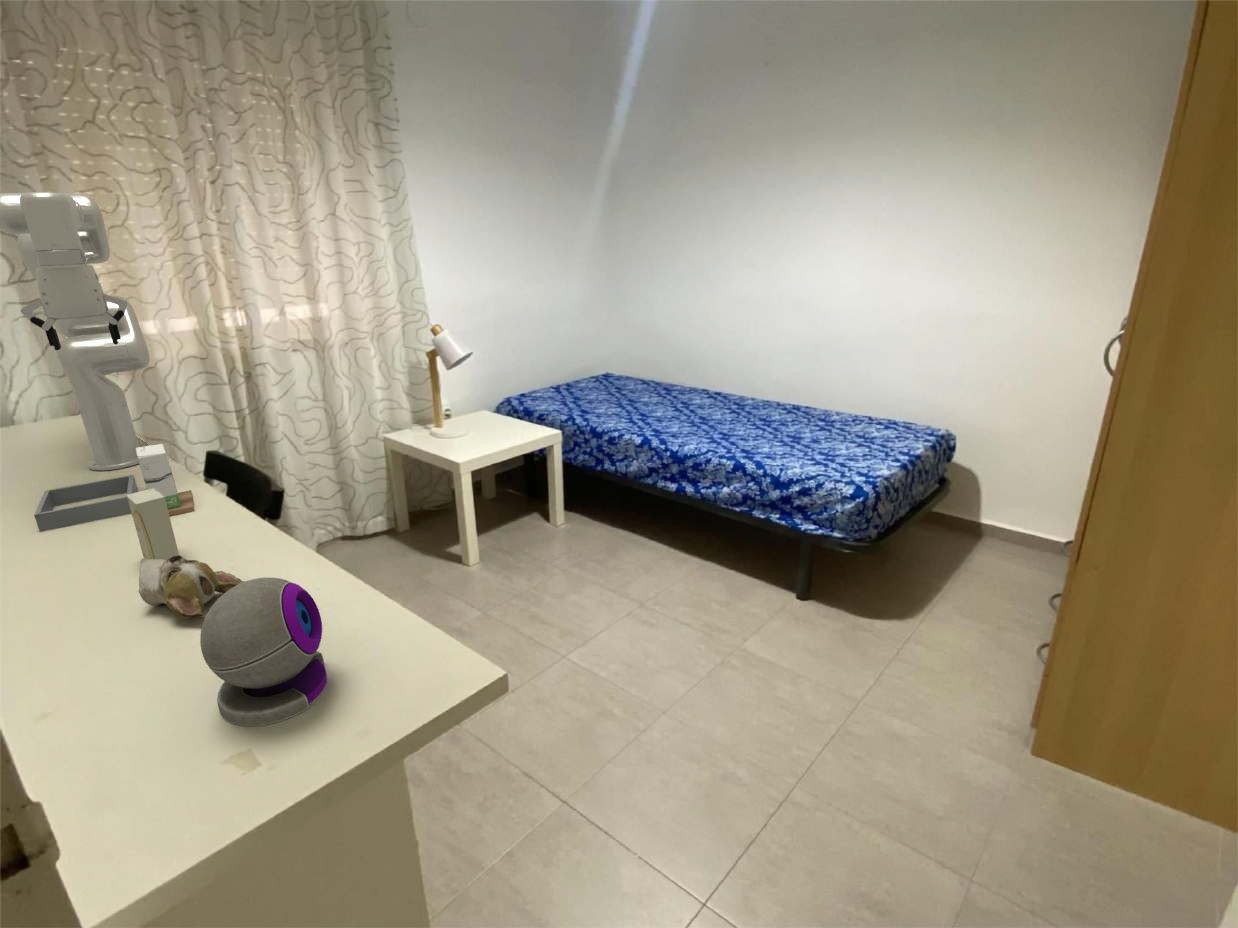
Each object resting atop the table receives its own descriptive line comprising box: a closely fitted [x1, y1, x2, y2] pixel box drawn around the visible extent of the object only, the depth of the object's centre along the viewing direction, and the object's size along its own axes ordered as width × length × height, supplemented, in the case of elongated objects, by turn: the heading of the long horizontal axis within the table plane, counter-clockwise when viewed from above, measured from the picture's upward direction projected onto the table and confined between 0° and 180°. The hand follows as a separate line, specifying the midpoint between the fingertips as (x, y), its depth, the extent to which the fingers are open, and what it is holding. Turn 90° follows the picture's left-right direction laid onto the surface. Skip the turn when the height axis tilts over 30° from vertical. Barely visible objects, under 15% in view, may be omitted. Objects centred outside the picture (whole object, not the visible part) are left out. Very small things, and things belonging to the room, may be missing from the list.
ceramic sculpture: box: [138, 554, 246, 619], centre depth 104 cm, size 11×9×15 cm
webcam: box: [200, 577, 328, 727], centre depth 82 cm, size 13×13×15 cm
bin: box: [33, 474, 139, 532], centre depth 142 cm, size 16×16×4 cm
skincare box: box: [125, 488, 180, 560], centre depth 118 cm, size 6×4×12 cm
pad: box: [168, 489, 195, 517], centre depth 142 cm, size 11×9×1 cm
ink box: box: [136, 443, 181, 509], centre depth 139 cm, size 9×5×12 cm, turn 37°
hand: (87, 346), depth 140 cm, fingers open, 9 cm apart
